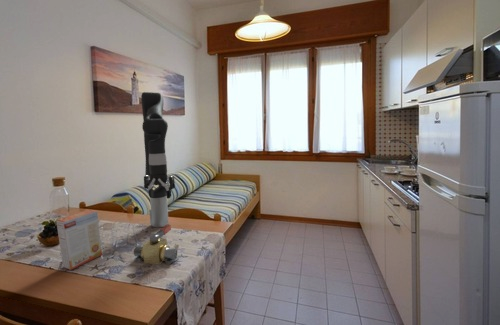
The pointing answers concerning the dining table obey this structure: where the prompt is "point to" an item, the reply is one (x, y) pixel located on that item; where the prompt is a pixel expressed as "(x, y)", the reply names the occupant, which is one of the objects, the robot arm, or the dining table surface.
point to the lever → (159, 234)
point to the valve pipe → (155, 252)
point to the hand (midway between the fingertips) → (160, 197)
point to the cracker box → (79, 238)
